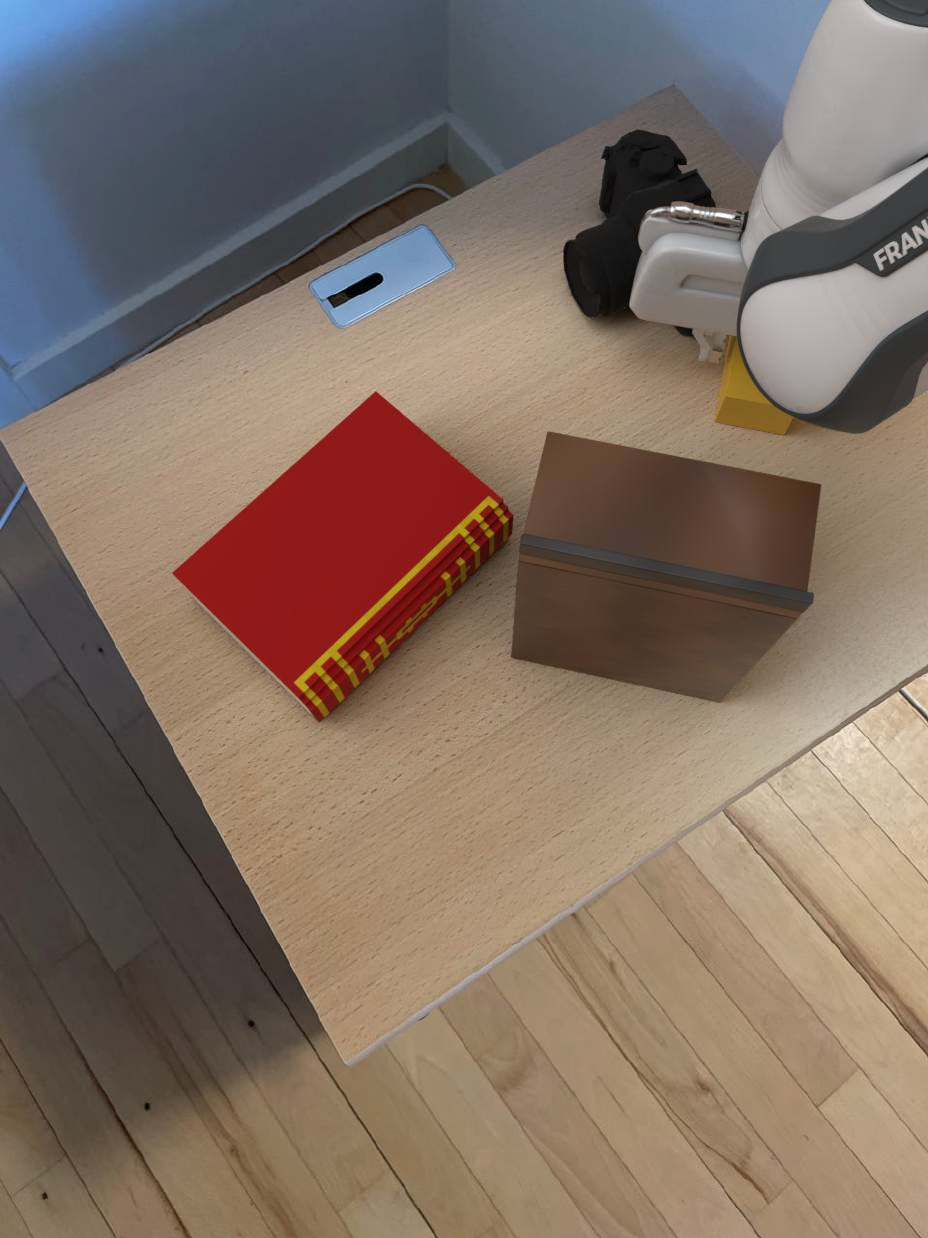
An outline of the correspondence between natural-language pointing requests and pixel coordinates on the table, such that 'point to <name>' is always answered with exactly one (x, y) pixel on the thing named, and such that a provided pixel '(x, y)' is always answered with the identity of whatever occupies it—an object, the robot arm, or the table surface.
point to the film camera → (627, 219)
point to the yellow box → (746, 398)
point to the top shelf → (673, 524)
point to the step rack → (638, 632)
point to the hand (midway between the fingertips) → (760, 363)
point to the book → (346, 554)
